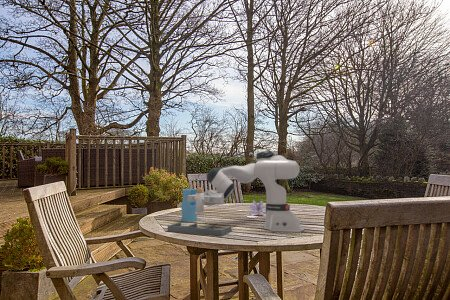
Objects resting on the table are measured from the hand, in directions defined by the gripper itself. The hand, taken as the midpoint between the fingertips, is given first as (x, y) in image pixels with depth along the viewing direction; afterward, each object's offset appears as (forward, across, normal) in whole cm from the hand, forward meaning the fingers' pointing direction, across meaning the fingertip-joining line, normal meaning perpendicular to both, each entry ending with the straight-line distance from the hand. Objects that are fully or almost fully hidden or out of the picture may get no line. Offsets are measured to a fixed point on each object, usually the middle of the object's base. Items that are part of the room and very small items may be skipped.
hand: (199, 200), depth 193 cm
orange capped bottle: (-1, 0, +8) cm, 8 cm away
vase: (-30, -22, +17) cm, 41 cm away
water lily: (-71, +10, +17) cm, 74 cm away
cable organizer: (-1, 0, +17) cm, 17 cm away
